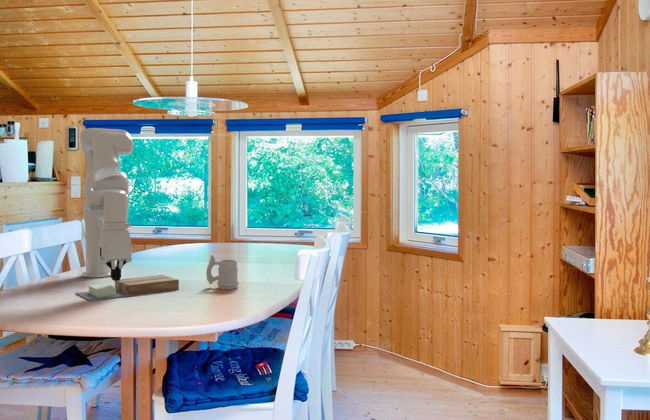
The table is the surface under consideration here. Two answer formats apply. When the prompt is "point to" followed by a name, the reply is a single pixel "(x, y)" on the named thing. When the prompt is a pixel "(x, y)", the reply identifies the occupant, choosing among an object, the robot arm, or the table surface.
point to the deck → (147, 284)
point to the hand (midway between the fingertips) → (116, 280)
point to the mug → (223, 273)
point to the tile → (102, 290)
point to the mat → (94, 298)
